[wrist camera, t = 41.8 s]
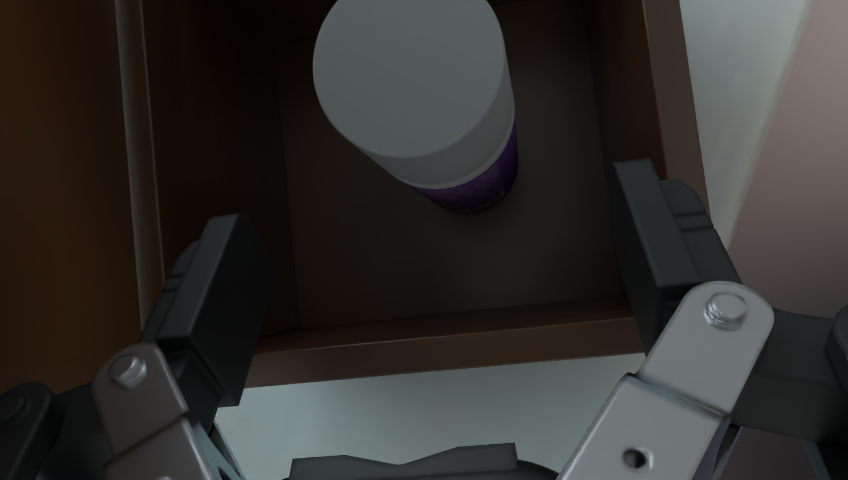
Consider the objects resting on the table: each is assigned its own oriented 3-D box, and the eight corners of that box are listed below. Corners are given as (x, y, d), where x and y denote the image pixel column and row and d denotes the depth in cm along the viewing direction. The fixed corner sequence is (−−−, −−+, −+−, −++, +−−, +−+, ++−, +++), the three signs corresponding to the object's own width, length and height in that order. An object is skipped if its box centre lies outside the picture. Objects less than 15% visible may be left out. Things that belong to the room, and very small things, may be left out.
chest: (597, -24, 29) (647, -225, 17) (643, 313, 28) (729, 345, 16) (261, 37, 32) (104, -100, 20) (291, 348, 31) (144, 397, 19)
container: (534, 135, 28) (543, -5, 13) (495, 229, 28) (462, 195, 13) (440, 100, 29) (351, -68, 14) (403, 192, 29) (277, 121, 14)
